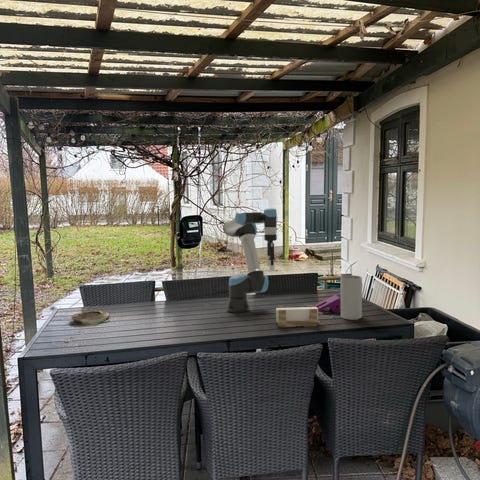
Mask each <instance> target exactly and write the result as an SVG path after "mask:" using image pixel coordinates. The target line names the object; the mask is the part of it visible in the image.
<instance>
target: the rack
mask: <svg viewBox="0 0 480 480" xmlns="http://www.w3.org/2000/svg"><path fill="white" fill-rule="evenodd" d="M306 306H307V307H314V306H315V304H308V305H306ZM276 308H285V305H277V306H276ZM276 322H277V321H276ZM277 325H278V327H279V328H292V327H293V328H294V327H295V328H297V327H296V326H298V327H299V326H304V327H318V321H317V309H310V321H286V310H279V322H277Z"/></svg>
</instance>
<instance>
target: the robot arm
mask: <svg viewBox="0 0 480 480" xmlns="http://www.w3.org/2000/svg"><path fill="white" fill-rule="evenodd" d="M277 215H278V213H277V209H276V208H275V207H274V208H272V207H271V208H269V207H268V208H265V209H264V210H258V211H238V212H236V213H235V216H234V218H232V219H230V220H226V221H225V222H224V224H223V225H222V231H223V233H224V234H225V235H226V236H228V237H231V238H238V239H239V241H240V242H241V243H242V249H243V254H244V259H245V263H246V267H247V273H239V274H234V275H231V276H230V277H229V279H228V288H229V289H228V290H229V291H228V293H229V300H228V301H227V302H228V303H227V306H226V311H227V312H229V313H233V314H235V313H236V314H238V313H239V314H241V313H248V312H249V311H250V310H251V307H250V303H249V300H248V295H249V294H257V293H258V294H259V293H265V292H266V291H267V290H268V287H269V276H268V275H267V274H266V273H265V274H264V271H263V270H262V269H261V266H260V261H259V257H258V252H257V246H256V242H255V238H256V235H257V233H258V230H257V229H258V228H257V224H263V225H264V226H263V227H264V228H263V230H264V232H263V233H264V235H263V236H264V239H263V240H264V241H267V243H266V244H267V246H266V247H267V248H266V249H267V250H266V251H267V252H266V255H267V267H269V271H275V258H276V257H275V243H274V241H277V239H278V235H277V232H278V231H277V230H278V229H279V228H277V227H278V225H277V223H278V222H277V220H278V219H277V217H278V216H277Z"/></svg>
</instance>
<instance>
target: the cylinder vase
mask: <svg viewBox="0 0 480 480" xmlns="http://www.w3.org/2000/svg"><path fill="white" fill-rule="evenodd" d="M362 295H363V277H362V276H360V275H355V274H354V275H351V274H348V275H347V274H346V275H341V276H340V300H341V312H340V318H341V319H345V320H347V321H349V320H350V321H357V320H359V319H362V316H363V312H362V311H363V308H362V307H363V305H362V304H363V298H362V297H363V296H362Z"/></svg>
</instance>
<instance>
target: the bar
mask: <svg viewBox="0 0 480 480" xmlns="http://www.w3.org/2000/svg"><path fill="white" fill-rule="evenodd" d="M310 309H317V322H318V321H319V316H323V314H324V313H323V312H321V311H320V312H318V308H317V307H304V306H303V307H284V308H277V307H276V308H275V318H276V319H275V320H276V322H279V310H286V322H307V321H310Z"/></svg>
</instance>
